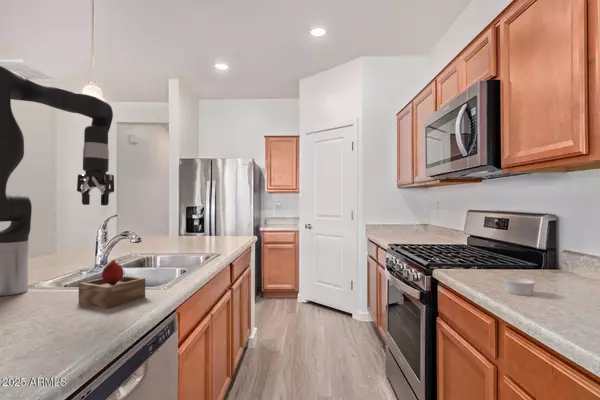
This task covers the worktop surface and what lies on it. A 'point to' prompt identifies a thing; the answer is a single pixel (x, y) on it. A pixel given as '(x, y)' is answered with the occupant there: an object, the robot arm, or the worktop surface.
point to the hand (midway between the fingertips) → (95, 205)
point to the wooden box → (111, 292)
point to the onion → (112, 273)
